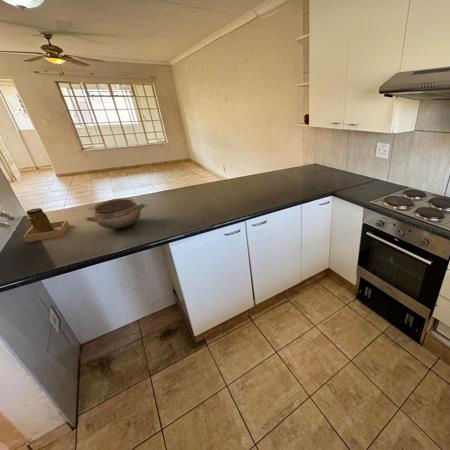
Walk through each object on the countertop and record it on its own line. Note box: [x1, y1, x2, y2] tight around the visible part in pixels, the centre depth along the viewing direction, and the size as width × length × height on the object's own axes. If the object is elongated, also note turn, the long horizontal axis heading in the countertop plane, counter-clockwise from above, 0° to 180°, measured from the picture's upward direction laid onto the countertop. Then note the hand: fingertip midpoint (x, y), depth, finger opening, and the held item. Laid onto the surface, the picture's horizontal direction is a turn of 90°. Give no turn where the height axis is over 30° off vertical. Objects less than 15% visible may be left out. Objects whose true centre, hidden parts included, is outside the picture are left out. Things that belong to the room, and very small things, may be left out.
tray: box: [22, 219, 70, 243], centre depth 119 cm, size 13×12×3 cm
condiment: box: [26, 207, 60, 234], centre depth 116 cm, size 7×8×12 cm
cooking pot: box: [85, 197, 146, 230], centre depth 123 cm, size 25×19×12 cm
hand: (12, 222), depth 110 cm, fingers open, 8 cm apart
